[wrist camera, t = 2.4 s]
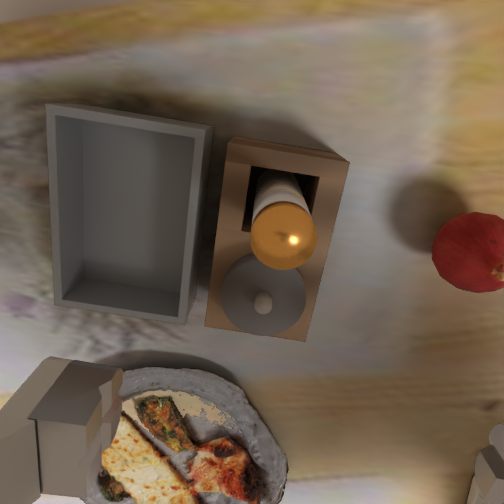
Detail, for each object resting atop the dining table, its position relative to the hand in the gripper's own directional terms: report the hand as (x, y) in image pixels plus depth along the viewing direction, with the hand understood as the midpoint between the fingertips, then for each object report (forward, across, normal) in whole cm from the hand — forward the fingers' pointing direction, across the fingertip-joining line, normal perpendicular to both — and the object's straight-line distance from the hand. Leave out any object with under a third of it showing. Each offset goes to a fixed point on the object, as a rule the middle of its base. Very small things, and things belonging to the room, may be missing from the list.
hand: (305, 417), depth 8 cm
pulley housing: (+24, 0, +4) cm, 24 cm away
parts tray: (+24, +11, +4) cm, 26 cm away
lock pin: (+24, 0, 0) cm, 24 cm away
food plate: (+24, +6, +31) cm, 39 cm away
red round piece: (+24, -15, +2) cm, 28 cm away
